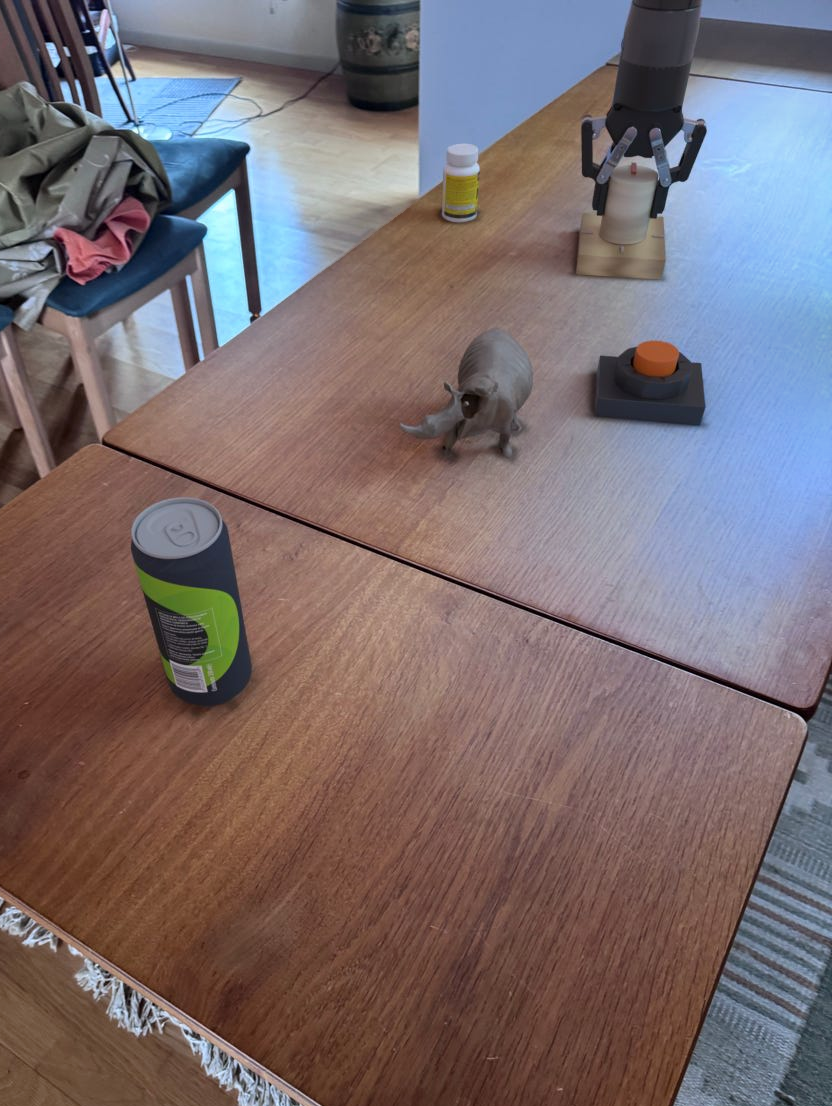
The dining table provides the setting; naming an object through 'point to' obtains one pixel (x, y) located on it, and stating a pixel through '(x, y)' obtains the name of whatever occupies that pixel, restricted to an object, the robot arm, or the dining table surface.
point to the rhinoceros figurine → (483, 393)
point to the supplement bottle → (460, 183)
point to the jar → (628, 204)
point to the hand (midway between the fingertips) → (626, 214)
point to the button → (655, 358)
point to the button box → (649, 391)
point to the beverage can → (192, 599)
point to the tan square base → (620, 252)
